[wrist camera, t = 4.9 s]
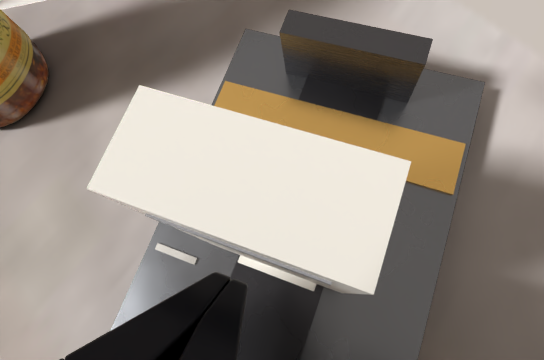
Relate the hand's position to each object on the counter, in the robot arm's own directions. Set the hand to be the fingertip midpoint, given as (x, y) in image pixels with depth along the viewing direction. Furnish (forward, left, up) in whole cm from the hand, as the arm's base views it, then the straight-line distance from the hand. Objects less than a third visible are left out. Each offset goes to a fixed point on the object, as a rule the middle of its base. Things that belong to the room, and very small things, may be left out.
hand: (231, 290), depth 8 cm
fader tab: (+2, -1, -7) cm, 7 cm away
